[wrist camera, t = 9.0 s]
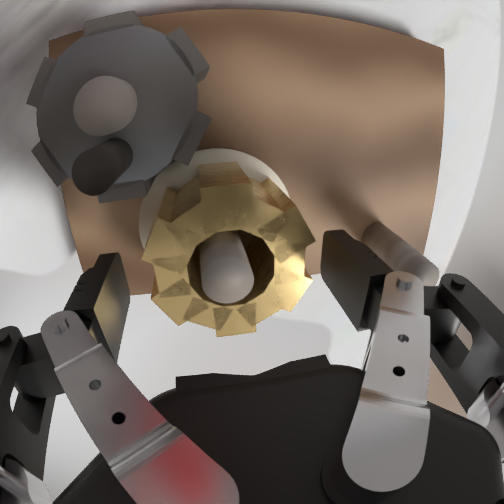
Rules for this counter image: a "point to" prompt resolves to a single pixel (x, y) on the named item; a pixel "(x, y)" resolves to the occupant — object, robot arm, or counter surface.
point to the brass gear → (258, 250)
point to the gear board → (243, 131)
